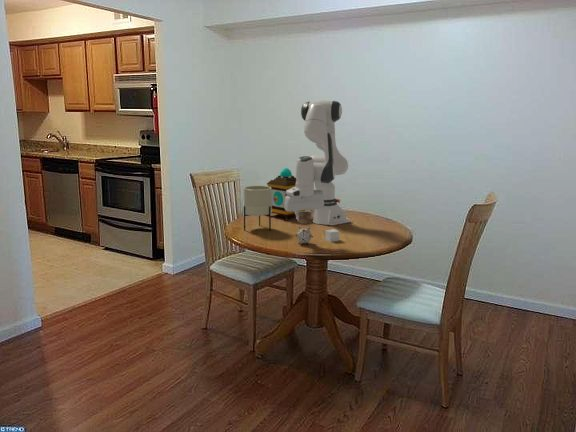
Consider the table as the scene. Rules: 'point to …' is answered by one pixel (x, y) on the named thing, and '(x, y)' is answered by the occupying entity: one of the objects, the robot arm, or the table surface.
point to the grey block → (332, 235)
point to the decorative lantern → (281, 191)
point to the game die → (304, 235)
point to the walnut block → (304, 217)
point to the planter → (258, 202)
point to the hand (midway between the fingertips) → (304, 218)
